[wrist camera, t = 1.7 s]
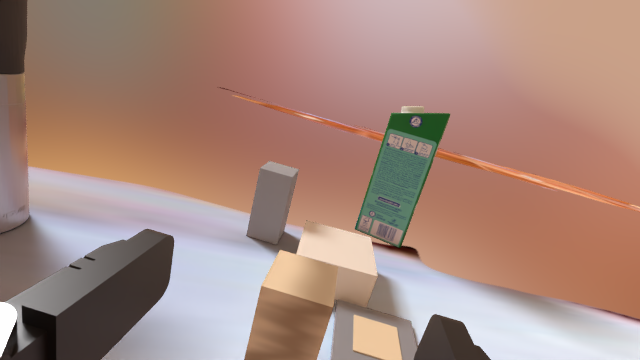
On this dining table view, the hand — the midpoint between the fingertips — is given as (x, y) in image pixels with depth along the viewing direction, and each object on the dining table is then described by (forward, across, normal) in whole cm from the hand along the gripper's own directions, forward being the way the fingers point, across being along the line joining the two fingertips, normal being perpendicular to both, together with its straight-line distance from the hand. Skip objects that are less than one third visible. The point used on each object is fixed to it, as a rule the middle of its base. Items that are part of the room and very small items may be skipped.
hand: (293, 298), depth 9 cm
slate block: (+35, +8, +17) cm, 40 cm away
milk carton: (+49, -12, +18) cm, 54 cm away
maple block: (+11, 0, +18) cm, 21 cm away
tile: (+19, -9, +18) cm, 28 cm away
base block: (+29, -3, +18) cm, 34 cm away
